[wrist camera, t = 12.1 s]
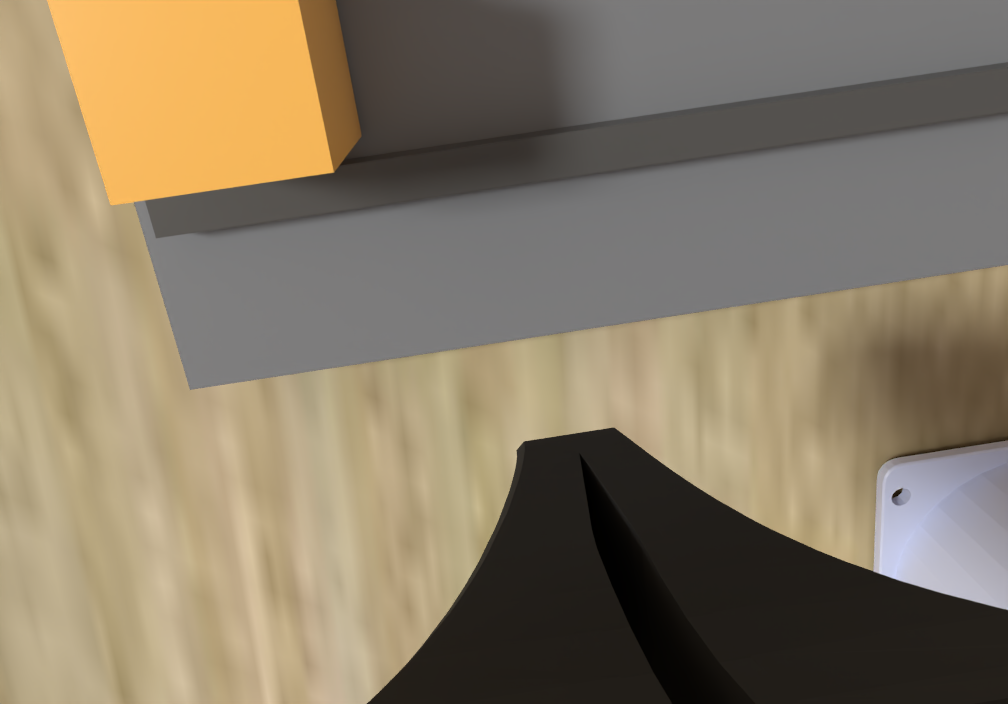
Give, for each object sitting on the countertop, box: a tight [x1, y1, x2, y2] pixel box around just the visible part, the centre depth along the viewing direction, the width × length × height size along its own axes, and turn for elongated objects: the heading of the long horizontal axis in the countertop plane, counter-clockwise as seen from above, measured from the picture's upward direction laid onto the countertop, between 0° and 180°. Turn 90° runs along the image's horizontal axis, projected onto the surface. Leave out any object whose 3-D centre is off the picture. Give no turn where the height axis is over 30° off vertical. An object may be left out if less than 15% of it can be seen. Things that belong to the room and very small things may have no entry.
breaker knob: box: [47, 0, 362, 205], centre depth 13 cm, size 3×3×4 cm
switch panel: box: [134, 0, 1008, 390], centre depth 16 cm, size 12×18×4 cm, turn 98°
